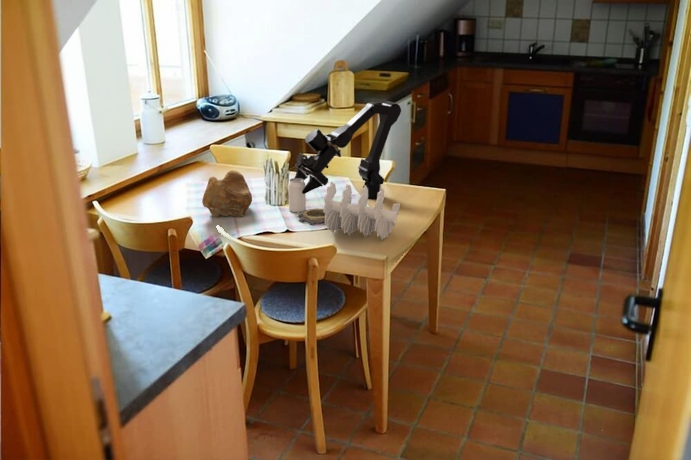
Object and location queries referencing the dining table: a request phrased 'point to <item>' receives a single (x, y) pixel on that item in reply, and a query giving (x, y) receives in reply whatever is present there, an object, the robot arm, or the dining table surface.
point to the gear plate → (313, 216)
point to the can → (296, 195)
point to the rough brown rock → (227, 195)
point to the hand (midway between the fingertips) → (297, 190)
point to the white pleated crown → (359, 213)
